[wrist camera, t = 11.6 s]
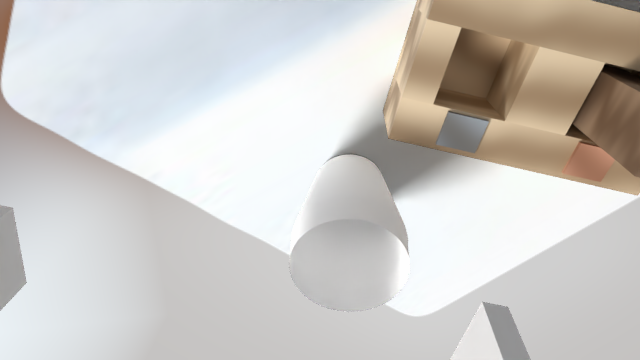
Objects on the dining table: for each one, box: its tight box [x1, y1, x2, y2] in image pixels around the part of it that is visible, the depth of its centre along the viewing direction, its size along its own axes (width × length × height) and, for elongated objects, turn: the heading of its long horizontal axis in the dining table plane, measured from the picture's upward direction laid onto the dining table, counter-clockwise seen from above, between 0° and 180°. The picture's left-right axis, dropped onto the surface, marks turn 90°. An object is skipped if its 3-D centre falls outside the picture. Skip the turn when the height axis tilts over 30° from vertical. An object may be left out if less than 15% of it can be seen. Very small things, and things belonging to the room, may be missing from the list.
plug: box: [572, 65, 640, 178], centre depth 29 cm, size 4×4×12 cm
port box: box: [383, 0, 640, 195], centre depth 32 cm, size 12×20×6 cm, turn 78°
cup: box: [289, 154, 410, 312], centre depth 36 cm, size 9×9×12 cm
